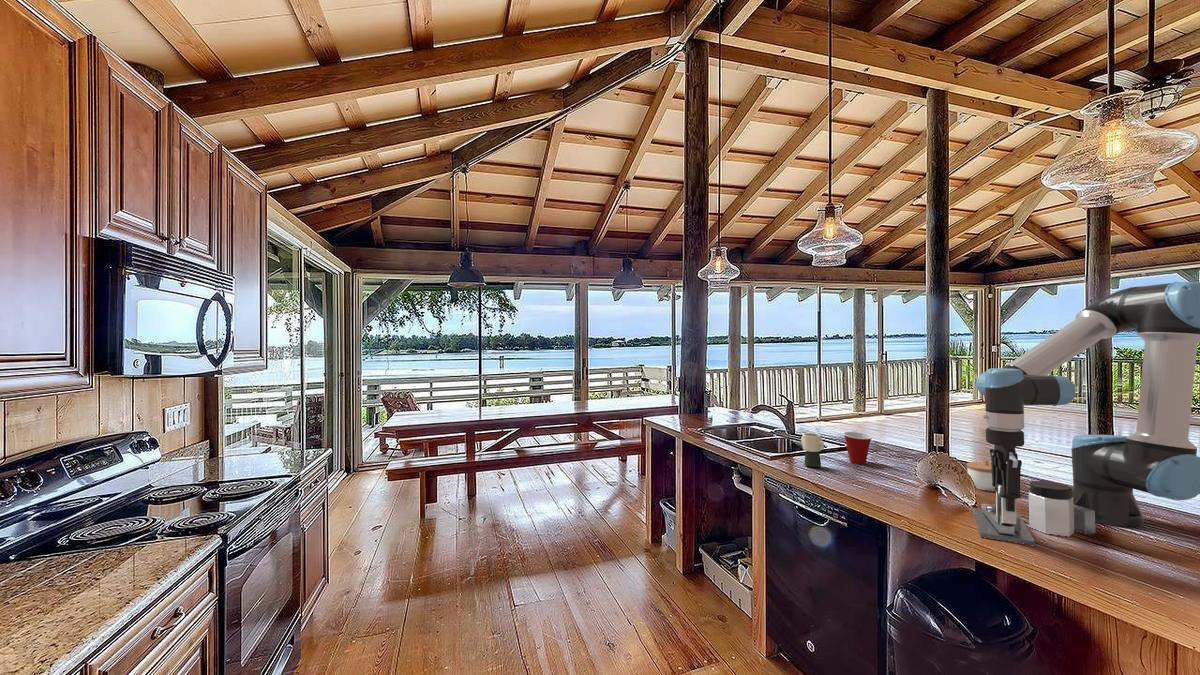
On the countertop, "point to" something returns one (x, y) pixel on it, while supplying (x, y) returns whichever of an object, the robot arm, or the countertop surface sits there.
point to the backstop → (1084, 520)
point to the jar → (1051, 508)
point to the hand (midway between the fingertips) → (1006, 520)
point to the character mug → (812, 448)
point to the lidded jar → (981, 475)
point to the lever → (1000, 515)
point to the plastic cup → (857, 446)
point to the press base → (991, 532)
